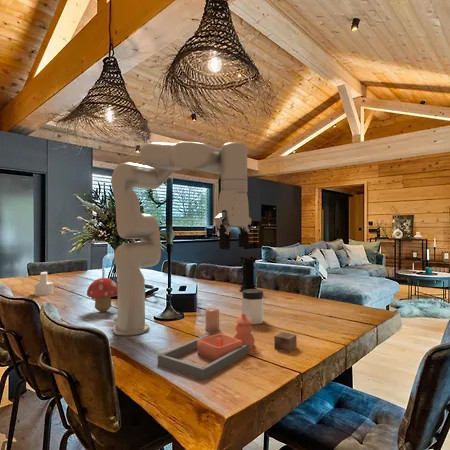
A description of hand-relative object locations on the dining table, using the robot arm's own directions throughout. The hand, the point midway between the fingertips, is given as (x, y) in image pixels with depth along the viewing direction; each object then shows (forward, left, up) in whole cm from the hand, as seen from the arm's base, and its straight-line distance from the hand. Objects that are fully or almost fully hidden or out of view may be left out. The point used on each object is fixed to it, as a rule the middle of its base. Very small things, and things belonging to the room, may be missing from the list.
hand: (234, 248), depth 93 cm
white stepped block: (-141, +15, -31) cm, 145 cm away
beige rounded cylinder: (-22, +18, -31) cm, 42 cm away
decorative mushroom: (-77, +10, -31) cm, 84 cm away
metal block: (+8, +16, -31) cm, 36 cm away
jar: (-15, +35, -31) cm, 49 cm away
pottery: (-5, +5, -32) cm, 32 cm away
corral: (-7, -5, -31) cm, 32 cm away
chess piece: (-48, +85, -31) cm, 102 cm away
